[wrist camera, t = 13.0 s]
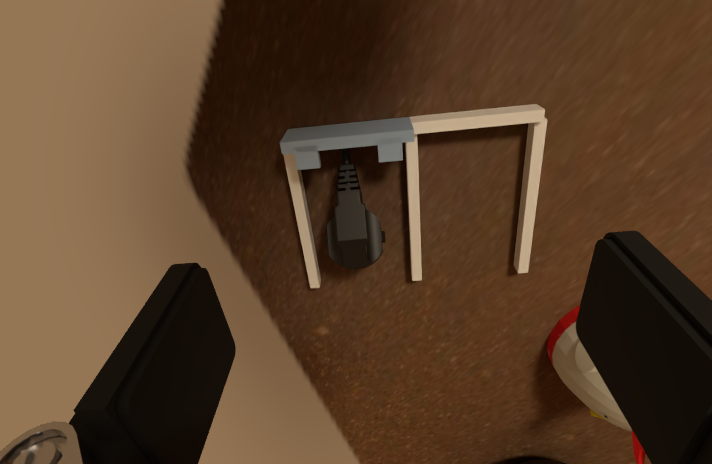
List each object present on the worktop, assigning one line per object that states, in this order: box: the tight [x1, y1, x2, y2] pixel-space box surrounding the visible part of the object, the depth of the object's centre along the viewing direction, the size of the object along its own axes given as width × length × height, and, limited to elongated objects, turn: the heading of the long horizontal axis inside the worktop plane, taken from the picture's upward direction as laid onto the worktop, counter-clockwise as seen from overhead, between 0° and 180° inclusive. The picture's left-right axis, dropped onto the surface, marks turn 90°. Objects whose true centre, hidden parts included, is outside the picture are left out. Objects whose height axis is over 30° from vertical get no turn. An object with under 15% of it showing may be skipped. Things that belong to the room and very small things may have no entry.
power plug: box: [325, 148, 385, 269], centre depth 39 cm, size 6×8×12 cm
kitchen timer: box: [547, 306, 646, 464], centre depth 42 cm, size 14×14×15 cm
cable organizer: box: [280, 104, 547, 288], centre depth 39 cm, size 17×23×4 cm
